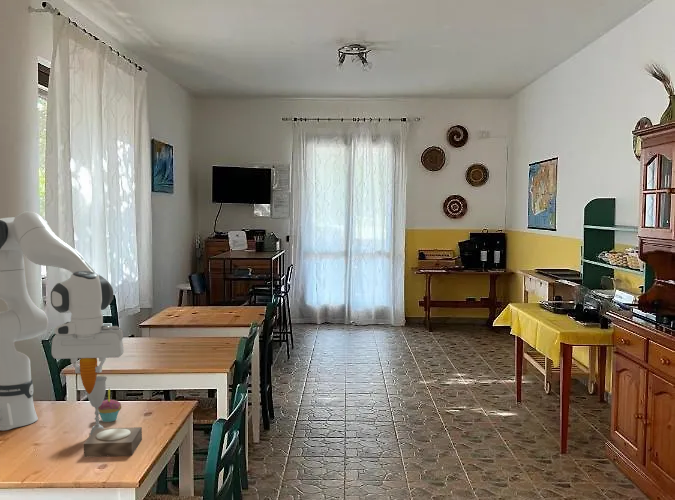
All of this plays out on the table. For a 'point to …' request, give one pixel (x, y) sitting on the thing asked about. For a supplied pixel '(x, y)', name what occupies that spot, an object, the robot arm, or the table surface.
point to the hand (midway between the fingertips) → (88, 372)
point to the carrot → (88, 373)
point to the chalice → (97, 399)
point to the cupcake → (109, 409)
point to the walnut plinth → (113, 442)
